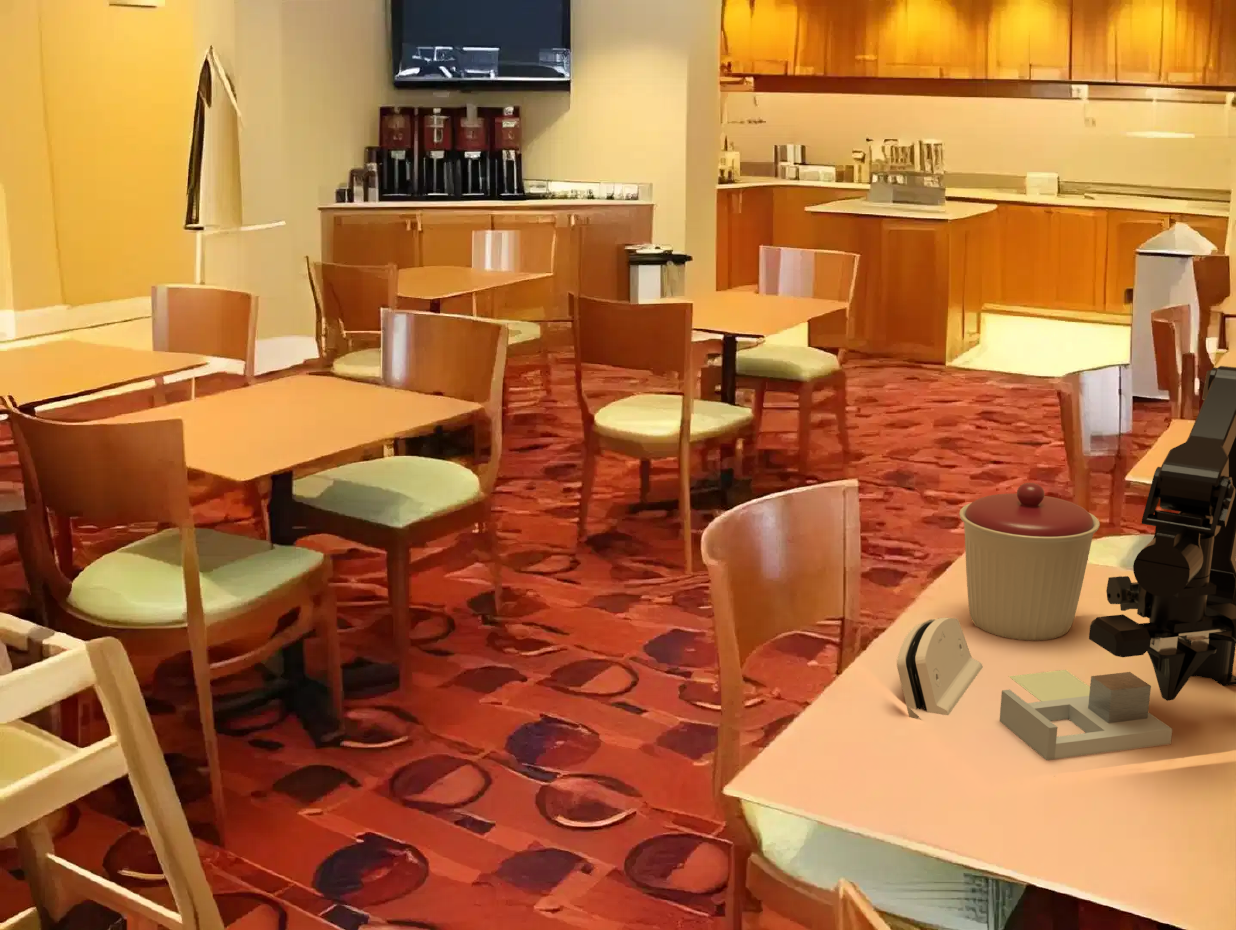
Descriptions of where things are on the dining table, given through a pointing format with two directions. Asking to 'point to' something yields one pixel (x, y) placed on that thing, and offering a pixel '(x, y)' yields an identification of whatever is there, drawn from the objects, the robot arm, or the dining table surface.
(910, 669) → the beige half-round holder
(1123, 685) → the block
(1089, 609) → the dining table surface
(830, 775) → the dining table surface
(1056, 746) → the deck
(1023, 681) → the pad
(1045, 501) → the canister
